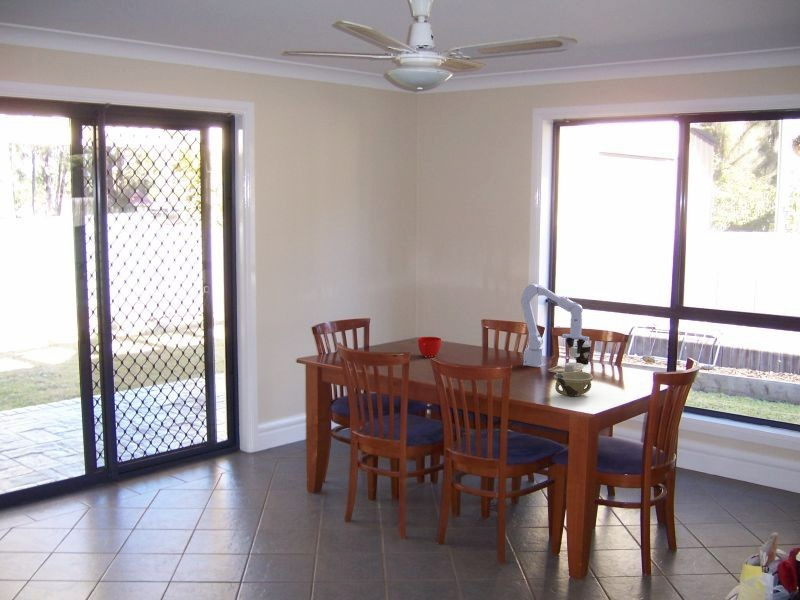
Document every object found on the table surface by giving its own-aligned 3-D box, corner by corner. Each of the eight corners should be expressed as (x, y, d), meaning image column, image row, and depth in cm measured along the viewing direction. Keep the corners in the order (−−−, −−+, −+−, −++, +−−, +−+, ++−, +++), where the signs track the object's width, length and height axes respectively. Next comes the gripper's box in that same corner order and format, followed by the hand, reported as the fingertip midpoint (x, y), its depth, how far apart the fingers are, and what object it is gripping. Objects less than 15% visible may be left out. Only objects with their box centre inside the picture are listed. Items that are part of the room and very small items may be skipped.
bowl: (586, 389, 379) (587, 370, 378) (596, 400, 361) (597, 379, 360) (549, 390, 378) (550, 370, 377) (558, 400, 361) (558, 379, 359)
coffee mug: (589, 362, 439) (589, 344, 438) (591, 365, 431) (592, 347, 429) (567, 361, 440) (568, 343, 439) (569, 364, 432) (569, 346, 430)
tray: (547, 372, 415) (547, 369, 414) (557, 368, 423) (557, 365, 423) (572, 376, 406) (572, 373, 406) (582, 372, 415) (582, 369, 414)
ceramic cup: (411, 359, 444) (411, 341, 443) (422, 353, 460) (422, 336, 458) (433, 361, 439) (434, 343, 438) (444, 355, 455) (444, 337, 454)
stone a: (569, 356, 421) (569, 347, 421) (573, 355, 425) (573, 346, 424) (575, 357, 419) (576, 348, 418) (579, 356, 422) (580, 347, 422)
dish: (562, 368, 422) (562, 364, 422) (570, 365, 429) (570, 361, 429) (578, 371, 417) (578, 367, 416) (586, 368, 424) (586, 364, 424)
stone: (564, 373, 409) (565, 365, 409) (566, 372, 413) (566, 364, 412) (572, 374, 408) (573, 366, 407) (574, 372, 411) (574, 365, 410)
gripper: (559, 326, 421) (559, 352, 423) (585, 329, 412) (584, 355, 414) (566, 325, 427) (565, 350, 429) (591, 328, 418) (590, 353, 420)
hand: (575, 352), depth 422 cm, fingers closed on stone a, 4 cm apart
